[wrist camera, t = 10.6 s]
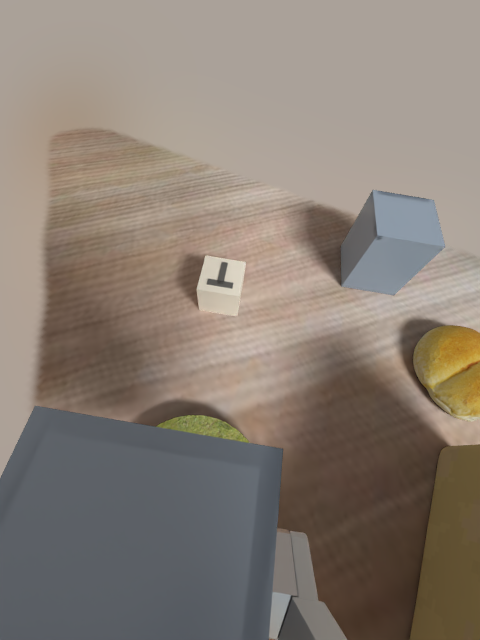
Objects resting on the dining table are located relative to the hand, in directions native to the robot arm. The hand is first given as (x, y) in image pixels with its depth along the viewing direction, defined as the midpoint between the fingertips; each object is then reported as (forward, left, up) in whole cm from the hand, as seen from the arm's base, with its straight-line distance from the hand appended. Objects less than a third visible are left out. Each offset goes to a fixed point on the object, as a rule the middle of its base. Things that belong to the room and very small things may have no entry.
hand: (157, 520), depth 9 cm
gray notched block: (-15, -24, -15) cm, 32 cm away
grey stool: (0, +1, -5) cm, 5 cm away
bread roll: (-23, -13, -15) cm, 31 cm away
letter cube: (+1, -17, -15) cm, 23 cm away
